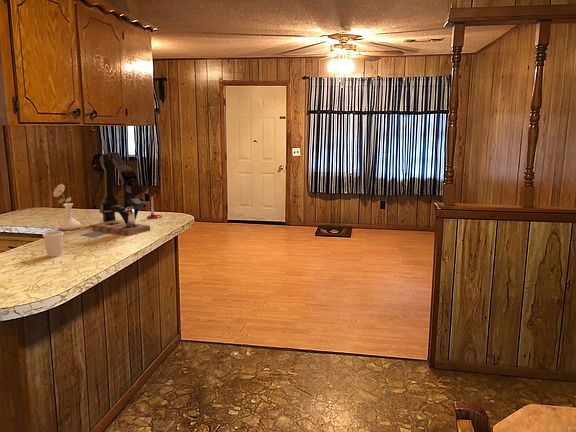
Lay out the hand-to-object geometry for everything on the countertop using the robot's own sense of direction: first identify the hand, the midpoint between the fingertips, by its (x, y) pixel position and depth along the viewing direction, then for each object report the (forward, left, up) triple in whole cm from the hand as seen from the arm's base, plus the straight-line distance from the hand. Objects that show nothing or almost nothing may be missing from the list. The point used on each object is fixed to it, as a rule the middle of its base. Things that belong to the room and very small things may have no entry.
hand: (130, 222), depth 255 cm
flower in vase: (-34, -12, -5) cm, 36 cm away
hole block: (-7, 0, -5) cm, 9 cm away
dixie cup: (+5, -48, -5) cm, 49 cm away
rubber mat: (-11, -14, -5) cm, 18 cm away
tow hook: (-18, +36, -6) cm, 41 cm away
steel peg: (0, 0, -3) cm, 3 cm away
